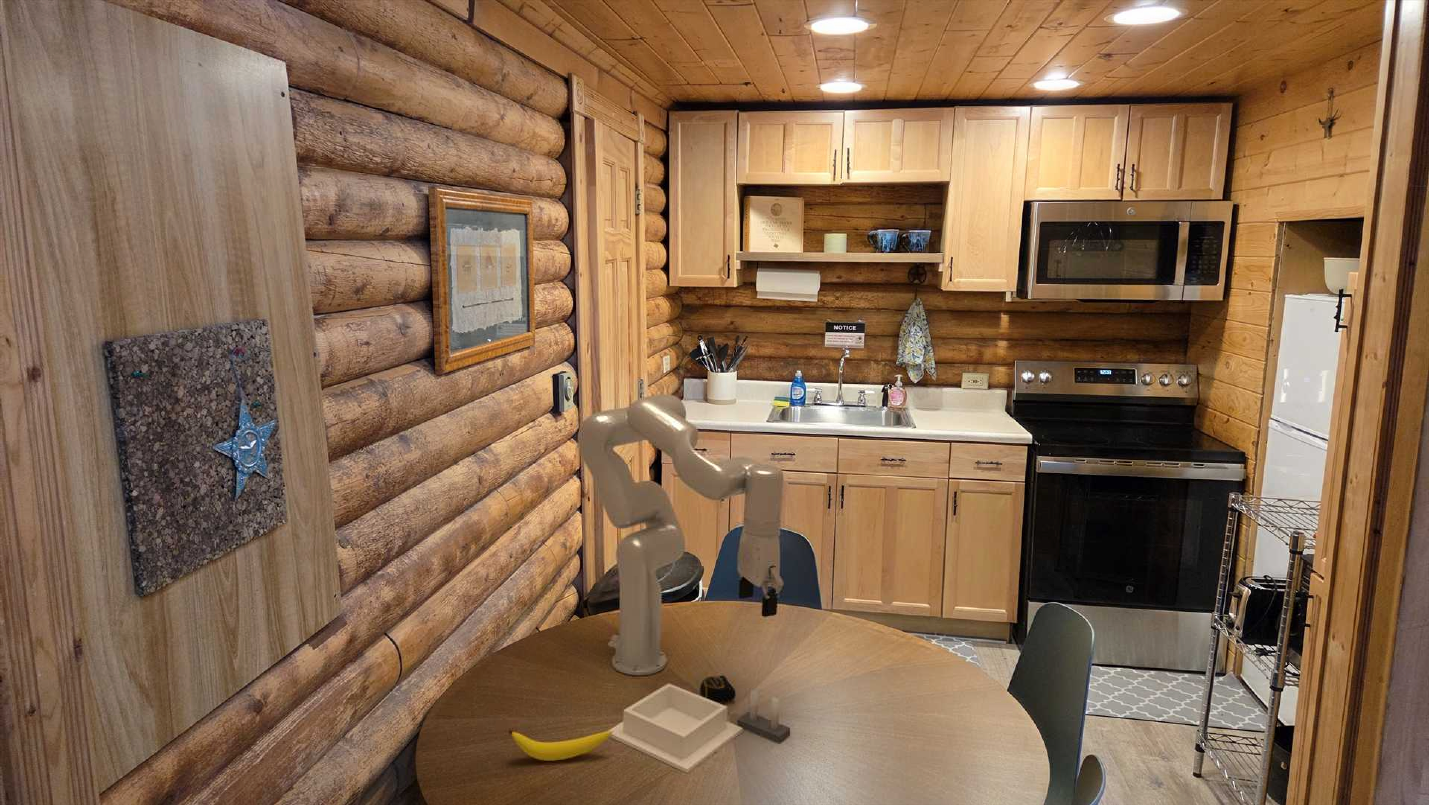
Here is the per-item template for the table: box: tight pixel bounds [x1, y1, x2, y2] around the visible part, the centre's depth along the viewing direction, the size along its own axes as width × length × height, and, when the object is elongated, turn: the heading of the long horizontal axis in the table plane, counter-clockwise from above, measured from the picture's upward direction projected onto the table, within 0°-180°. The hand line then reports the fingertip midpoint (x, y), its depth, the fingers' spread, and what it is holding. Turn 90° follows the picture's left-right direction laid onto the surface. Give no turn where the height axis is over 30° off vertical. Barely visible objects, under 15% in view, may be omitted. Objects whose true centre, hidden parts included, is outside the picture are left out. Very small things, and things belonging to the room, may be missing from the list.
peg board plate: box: [736, 689, 791, 744], centre depth 168 cm, size 10×4×8 cm, turn 54°
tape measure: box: [699, 675, 736, 704], centre depth 180 cm, size 7×7×4 cm
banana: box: [508, 729, 613, 762], centre depth 156 cm, size 3×19×6 cm, turn 99°
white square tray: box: [607, 683, 744, 774], centre depth 166 cm, size 20×18×5 cm
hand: (757, 606), depth 173 cm, fingers open, 9 cm apart
